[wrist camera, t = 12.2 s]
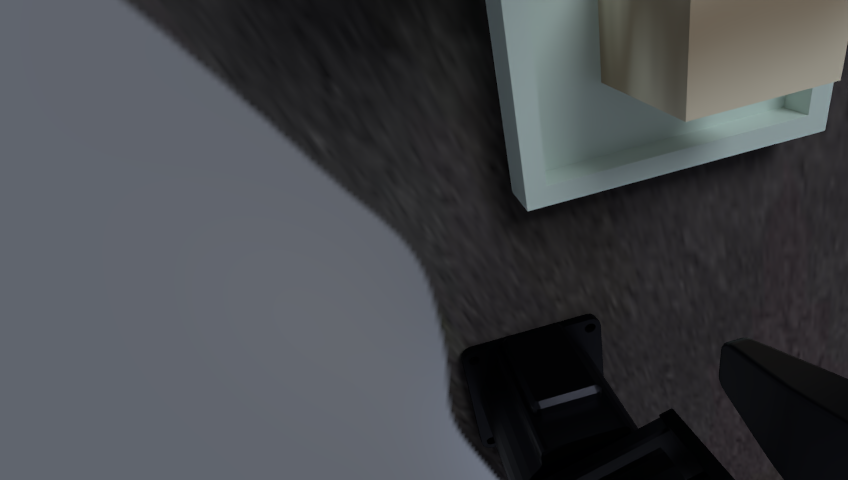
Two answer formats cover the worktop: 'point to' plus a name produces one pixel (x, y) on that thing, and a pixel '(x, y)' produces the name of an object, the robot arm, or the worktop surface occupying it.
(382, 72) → the worktop surface
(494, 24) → the tray
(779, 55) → the birch block
